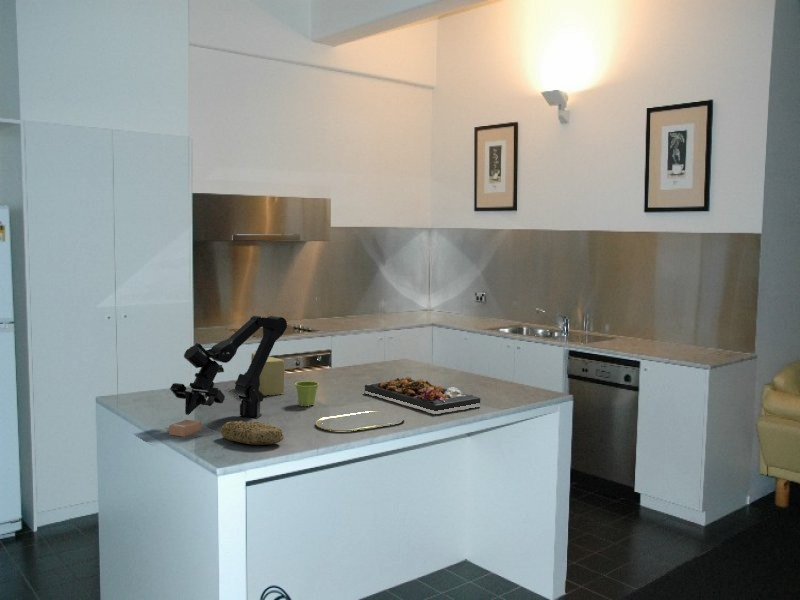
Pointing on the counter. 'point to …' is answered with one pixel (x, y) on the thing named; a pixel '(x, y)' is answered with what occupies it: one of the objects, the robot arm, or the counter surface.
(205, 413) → the counter surface
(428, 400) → the food platter
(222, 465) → the counter surface
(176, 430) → the card box
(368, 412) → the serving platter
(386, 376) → the counter surface
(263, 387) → the cheese
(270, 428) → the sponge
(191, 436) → the mat
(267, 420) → the counter surface
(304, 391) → the plant pot
